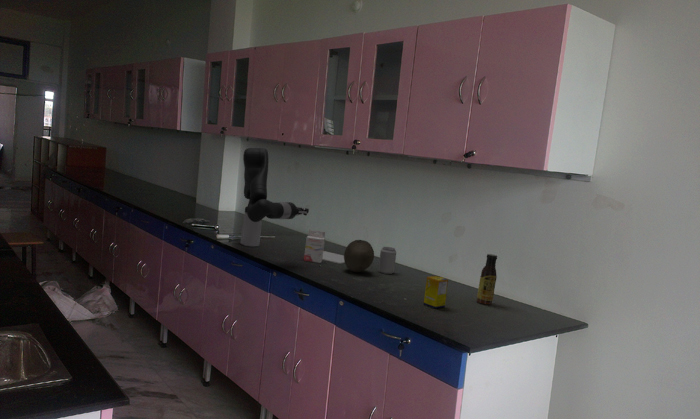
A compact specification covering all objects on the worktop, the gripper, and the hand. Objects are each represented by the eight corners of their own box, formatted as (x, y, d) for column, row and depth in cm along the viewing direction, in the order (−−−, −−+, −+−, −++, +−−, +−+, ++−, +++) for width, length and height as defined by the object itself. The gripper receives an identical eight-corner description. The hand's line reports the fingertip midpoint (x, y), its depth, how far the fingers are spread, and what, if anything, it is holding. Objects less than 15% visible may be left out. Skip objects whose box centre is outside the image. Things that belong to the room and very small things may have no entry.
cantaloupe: (336, 271, 244) (340, 239, 243) (349, 267, 257) (353, 236, 256) (365, 277, 239) (369, 244, 237) (377, 272, 251) (380, 241, 250)
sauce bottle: (481, 305, 213) (488, 255, 211) (473, 300, 219) (480, 252, 217) (495, 305, 215) (502, 256, 213) (487, 301, 221) (494, 253, 219)
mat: (303, 255, 274) (304, 254, 274) (324, 252, 289) (324, 251, 289) (339, 263, 263) (339, 262, 262) (359, 260, 278) (359, 259, 278)
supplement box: (432, 303, 208) (436, 275, 207) (445, 307, 204) (448, 279, 203) (422, 304, 204) (426, 276, 203) (435, 309, 200) (438, 280, 199)
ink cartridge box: (303, 260, 260) (306, 230, 259) (305, 259, 265) (308, 229, 264) (320, 263, 260) (324, 233, 258) (322, 261, 265) (325, 231, 263)
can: (382, 269, 260) (385, 245, 259) (396, 273, 256) (399, 248, 255) (375, 271, 253) (378, 246, 252) (389, 275, 250) (392, 249, 248)
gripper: (297, 204, 233) (319, 204, 248) (273, 200, 240) (296, 201, 255) (295, 221, 234) (317, 220, 249) (271, 217, 241) (295, 216, 256)
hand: (307, 210), depth 252 cm, fingers closed
